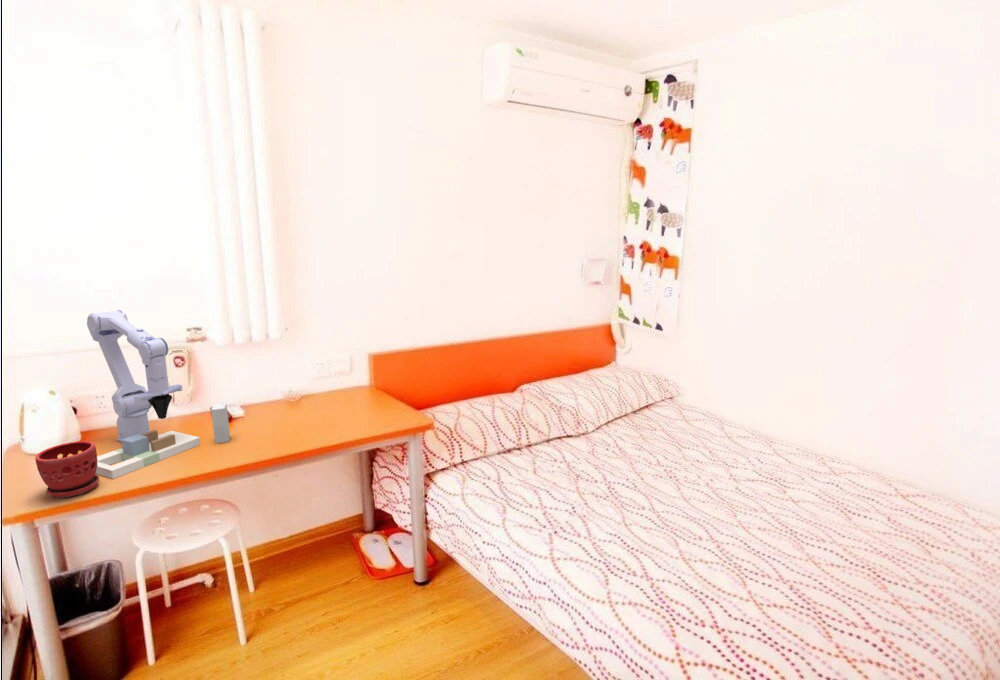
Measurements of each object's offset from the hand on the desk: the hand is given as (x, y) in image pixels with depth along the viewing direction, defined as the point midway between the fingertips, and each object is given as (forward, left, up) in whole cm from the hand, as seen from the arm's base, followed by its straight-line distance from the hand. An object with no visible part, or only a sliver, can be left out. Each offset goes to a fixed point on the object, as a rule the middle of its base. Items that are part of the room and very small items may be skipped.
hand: (162, 418), depth 182 cm
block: (0, -10, -8) cm, 12 cm away
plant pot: (+4, -30, -11) cm, 32 cm away
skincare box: (+10, +13, -11) cm, 20 cm away
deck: (0, -7, -10) cm, 13 cm away
